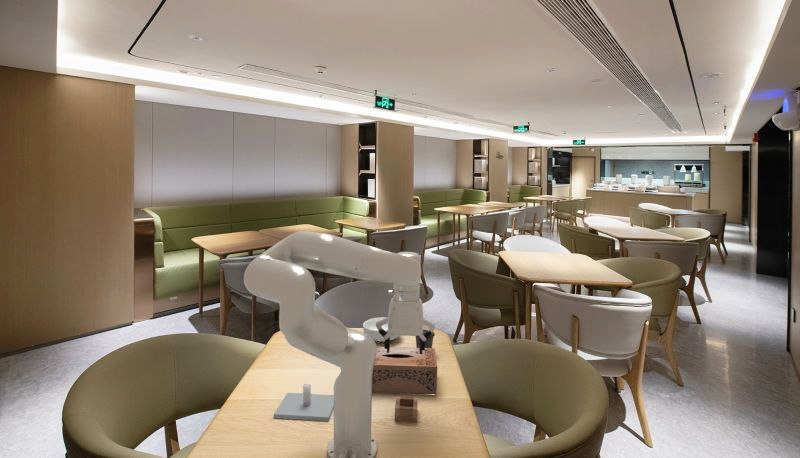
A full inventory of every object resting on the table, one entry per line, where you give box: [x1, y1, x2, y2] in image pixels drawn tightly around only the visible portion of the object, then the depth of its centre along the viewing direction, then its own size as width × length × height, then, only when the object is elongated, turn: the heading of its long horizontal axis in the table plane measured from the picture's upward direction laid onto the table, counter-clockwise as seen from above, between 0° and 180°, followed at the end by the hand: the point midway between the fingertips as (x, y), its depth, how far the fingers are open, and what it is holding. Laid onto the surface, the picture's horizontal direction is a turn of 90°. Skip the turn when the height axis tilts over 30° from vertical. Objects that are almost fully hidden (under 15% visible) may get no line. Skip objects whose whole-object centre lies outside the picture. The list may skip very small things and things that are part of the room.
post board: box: [273, 383, 334, 422], centre depth 124 cm, size 12×16×7 cm
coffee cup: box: [415, 328, 436, 348], centre depth 163 cm, size 8×8×10 cm
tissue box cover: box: [372, 346, 438, 396], centre depth 140 cm, size 26×14×10 cm, turn 89°
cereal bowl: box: [362, 316, 400, 343], centre depth 178 cm, size 17×17×7 cm
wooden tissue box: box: [394, 396, 419, 423], centre depth 122 cm, size 6×6×4 cm
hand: (404, 351), depth 121 cm, fingers open, 9 cm apart
